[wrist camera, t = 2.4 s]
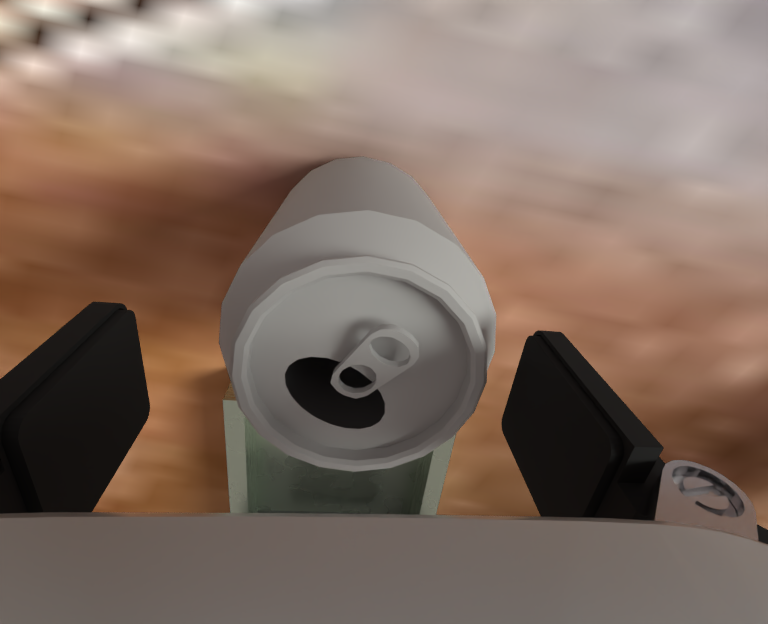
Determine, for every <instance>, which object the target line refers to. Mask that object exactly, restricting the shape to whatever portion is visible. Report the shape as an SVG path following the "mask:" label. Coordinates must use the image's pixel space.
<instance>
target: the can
mask: <svg viewBox="0 0 768 624" xmlns="http://www.w3.org/2000/svg"><path fill="white" fill-rule="evenodd" d="M495 331H496V313H495V310H494V307H493V304H492V301H491V298H490V295H489V292H488V289H487V286H486V283H485V280H484V277H483V276H482V274H481V273H480V272H479V270H478V269H477V267H476V266H475V264H474V263H473V261H472V260H471V258H470V257H469V255H468V254H467V252H466V251H465V250H464V248H463V247H462V245H461V244H460V242H459V241H458V239H457V238H456V236H455V235H454V233H453V232H452V230H451V229H450V227H449V226H448V225H447V223H446V222H445V220H444V219H443V217H442V216H441V214H440V213H439V211H438V210H437V208H436V207H435V205H434V204H433V203H432V201H431V200H430V198H429V197H428V196H427V194H426V193H425V192H424V191H423V189H422V188H421V187H420V186H419V184H418V183H417V182H416V181H415V179H414V178H413V177H412V176H410V175H408V174H407V173H405V172H404V171H402V170H400V169H399V168H397V167H396V166H394V165H392V164H391V163H388V162H384V161H380V160H376V159H372V158H367V157H353V158H343V159H335V160H333V161H331V162H329V163H326V164H324V165H322V166H320V167H318V168H316V169H313V170H311V171H310V172H309V173H308V174H307V175H306V176H305V177H304V178H303V179H302V180H301V181H300V182H299V183H298V184H297V185H296V186H295V187H294V188H293V189H292V190H291V191H290V193H289V194H288V196H287V197H286V199H285V200H284V202H283V203H282V205H281V206H280V208H279V209H278V211H277V212H276V214H275V215H274V216H273V218H272V219H271V221H270V222H269V224H268V225H267V227H266V228H265V230H264V231H263V233H262V234H261V236H260V237H259V239H258V240H257V242H256V243H255V245H254V246H253V248H252V249H251V251H250V252H249V253H248V255H247V256H246V258H245V259H244V261H243V262H242V264H241V265H240V267H239V269H238V271H237V273H236V275H235V277H234V279H233V282H232V284H231V286H230V288H229V290H228V292H227V294H226V296H225V298H224V300H223V302H222V308H221V321H220V334H219V345H220V348H221V351H222V354H223V358H224V361H225V364H226V368H227V371H228V374H229V378H230V381H231V384H232V387H233V391H234V394H235V397H236V401H237V404H238V407H239V408H240V410H241V411H242V412H243V414H244V415H245V416H246V418H247V419H248V421H249V422H250V423H251V425H252V426H253V427H254V429H255V430H256V431H257V433H258V434H259V435H260V436H262V437H263V438H265V439H266V440H267V441H269V442H270V443H271V444H273V445H274V446H276V447H277V448H278V449H280V450H281V451H283V452H284V453H285V454H287V455H289V456H292V457H294V458H297V459H300V460H302V461H305V462H308V463H310V464H313V465H315V466H318V467H322V468H330V469H338V470H346V471H354V472H357V471H366V470H376V469H386V468H392V467H395V466H398V465H400V464H403V463H406V462H409V461H412V460H415V459H418V458H421V457H423V456H425V455H427V454H428V453H430V452H431V451H433V450H434V449H436V448H437V447H439V446H440V445H442V444H443V443H445V442H446V441H448V440H449V439H451V438H452V437H453V436H454V435H455V434H456V433H457V431H458V430H459V429H460V428H461V427H462V426H463V424H464V423H465V422H466V421H467V420H468V419H469V417H470V416H471V415H472V414H473V413H474V411H475V409H476V406H477V404H478V401H479V399H480V396H481V394H482V392H483V389H484V387H485V384H486V382H487V369H488V367H489V365H490V362H491V360H492V357H493V355H494V352H495Z"/></svg>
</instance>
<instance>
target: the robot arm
mask: <svg viewBox="0 0 768 624" xmlns="http://www.w3.org/2000/svg"><path fill="white" fill-rule="evenodd" d="M149 411H150V403H149V397H148V391H147V385H146V379H145V373H144V366H143V360H142V354H141V348H140V342H139V336H138V330H137V324H136V318H135V314H134V312H133V311H131V310H127V308H126V307H125V305H124V304H121V303H106V302H92V303H91V304H89V305H88V306H87V307H86V308H85V309H83V310H82V311H81V312H80V313H79V314H77V315H76V316H75V317H74V318H73V319H72V320H70V321H69V322H68V323H67V324H66V325H64V326H63V327H62V328H61V329H60V330H58V331H57V332H56V333H55V334H54V335H52V336H51V337H50V338H49V339H48V340H47V341H45V342H44V343H43V344H42V345H41V346H39V347H38V348H37V349H36V350H35V351H33V352H32V353H31V354H30V355H29V356H27V357H26V358H25V359H24V360H23V361H22V362H20V363H19V364H18V365H17V366H16V367H14V368H13V369H12V370H11V371H10V372H8V373H7V374H6V375H5V376H4V377H2V378H1V379H0V624H768V530H767V529H765V528H763V527H761V526H759V525H757V522H756V513H755V510H754V507H753V504H752V502H751V501H750V500H749V498H748V497H747V496H746V494H745V493H744V492H743V491H742V490H741V489H740V488H739V487H737V486H736V485H735V484H734V483H733V482H732V481H730V480H729V479H727V478H726V477H724V476H723V475H721V474H720V473H718V472H716V471H714V470H712V469H710V468H708V467H706V466H703V465H700V464H698V463H695V462H690V461H685V460H672V461H670V462H668V463H666V464H665V463H664V462H663V461H662V460H661V458H660V457H659V455H660V454H661V452H662V450H663V446H662V445H661V444H660V443H659V442H658V441H657V440H656V438H655V437H654V436H653V435H652V434H651V433H650V432H649V431H648V429H647V428H646V427H645V426H644V425H643V424H642V423H641V421H640V420H639V419H638V418H637V417H636V416H635V415H634V414H633V412H632V411H631V410H630V409H629V408H628V407H627V406H626V405H625V403H624V402H623V401H622V400H621V399H620V398H619V397H618V395H617V394H616V393H615V392H614V391H613V390H612V389H611V388H610V386H609V385H608V384H607V383H606V382H605V381H604V380H603V378H602V377H601V376H600V375H599V374H598V373H597V372H596V371H595V369H594V368H593V367H592V366H591V365H590V364H589V363H588V361H587V360H586V359H585V358H584V357H583V356H582V355H581V354H580V352H579V351H578V350H577V349H576V348H575V347H574V346H573V344H572V343H571V342H570V341H569V340H568V339H567V338H566V337H565V335H564V334H563V333H561V332H553V331H536V332H535V333H534V335H533V336H529V337H528V338H527V340H526V342H525V346H524V349H523V352H522V355H521V359H520V362H519V365H518V368H517V372H516V375H515V378H514V381H513V385H512V388H511V391H510V394H509V398H508V401H507V404H506V408H505V411H504V414H503V417H502V431H503V434H504V436H505V438H506V440H507V443H508V445H509V447H510V449H511V451H512V454H513V456H514V458H515V460H516V462H517V465H518V467H519V469H520V471H521V473H522V476H523V478H524V480H525V482H526V484H527V487H528V489H529V491H530V493H531V495H532V498H533V500H534V502H535V504H536V506H537V509H538V511H539V513H540V515H541V517H537V516H475V515H407V514H312V513H145V512H92V511H93V509H94V507H95V506H96V504H97V502H98V501H99V499H100V498H101V496H102V494H103V493H104V491H105V489H106V488H107V486H108V484H109V483H110V481H111V479H112V478H113V476H114V474H115V473H116V471H117V469H118V468H119V466H120V464H121V463H122V461H123V459H124V458H125V456H126V454H127V453H128V451H129V449H130V448H131V446H132V444H133V443H134V441H135V439H136V438H137V436H138V434H139V433H140V431H141V429H142V428H143V426H144V424H145V423H146V421H147V419H148V416H149Z"/></svg>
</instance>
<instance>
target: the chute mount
mask: <svg viewBox="0 0 768 624" xmlns="http://www.w3.org/2000/svg"><path fill="white" fill-rule="evenodd" d="M223 411H224V426H225V441H226V456H227V472H228V487H229V502H230V513H312V514H407V515H436V512H437V508H438V504H439V500H440V496H441V492H442V488H443V484H444V480H445V476H446V472H447V468H448V464H449V460H450V456H451V452H452V448H453V444H454V440H455V436H456V434H455V435H454V436H453V437H452V438H451V439H449V440H448V441H446V442H445V443H443V444H442V445H440V446H439V447H437V448H436V449H434V450H433V451H431V452H430V453H428V454H427V455H425V456H423V457H421V458H418V459H415V460H412V461H409V462H406V463H403V464H400V465H398V466H395V467H392V468H386V469H376V470H366V471H357V472H354V471H346V470H338V469H330V468H322V467H318V466H315V465H313V464H310V463H308V462H305V461H302V460H300V459H297V458H294V457H292V456H289V455H287V454H285V453H284V452H283V451H281V450H280V449H278V448H277V447H276V446H274V445H273V444H271V443H270V442H269V441H267V440H266V439H265V438H263V437H262V436H260V435H259V434H258V433H257V431H256V430H255V429H254V427H253V426H252V425H251V423H250V422H249V421H248V419H247V418H246V416H245V415H244V414H243V412H242V411H241V410H240V408H239V407H238V404H237V401H236V397H235V394H234V391H233V387H232V384H231V382H230V385H229V387H228V389H227V391H226V394H225V396H224V398H223Z"/></svg>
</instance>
